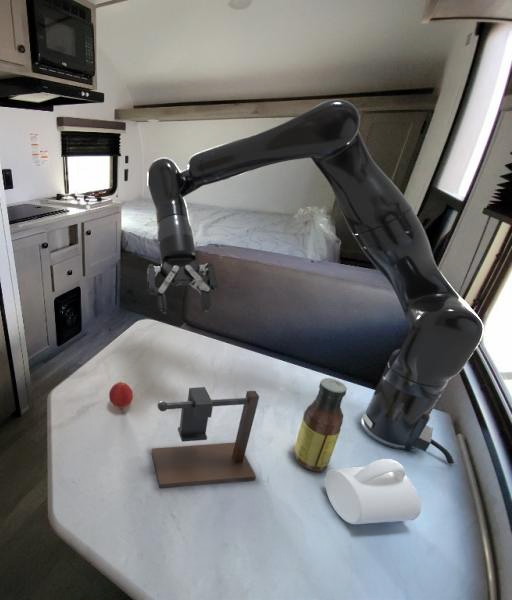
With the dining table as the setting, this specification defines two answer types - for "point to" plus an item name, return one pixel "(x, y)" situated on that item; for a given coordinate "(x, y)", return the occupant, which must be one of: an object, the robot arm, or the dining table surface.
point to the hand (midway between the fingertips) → (185, 311)
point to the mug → (373, 493)
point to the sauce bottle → (321, 426)
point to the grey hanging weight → (196, 415)
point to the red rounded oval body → (121, 395)
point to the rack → (208, 452)
